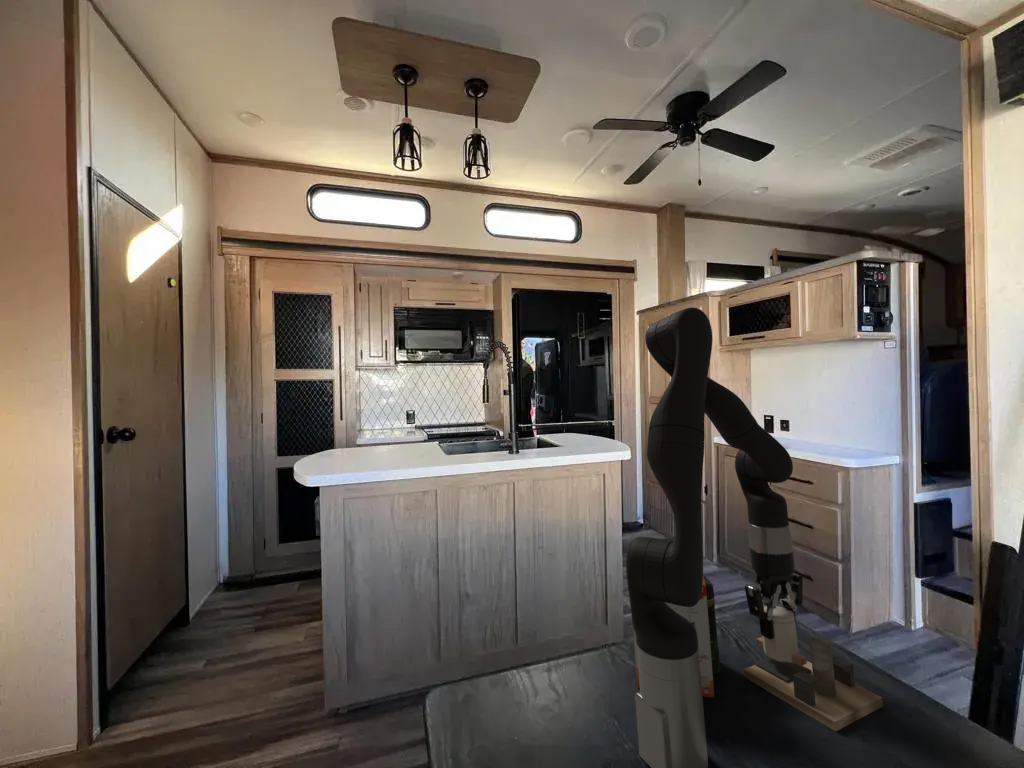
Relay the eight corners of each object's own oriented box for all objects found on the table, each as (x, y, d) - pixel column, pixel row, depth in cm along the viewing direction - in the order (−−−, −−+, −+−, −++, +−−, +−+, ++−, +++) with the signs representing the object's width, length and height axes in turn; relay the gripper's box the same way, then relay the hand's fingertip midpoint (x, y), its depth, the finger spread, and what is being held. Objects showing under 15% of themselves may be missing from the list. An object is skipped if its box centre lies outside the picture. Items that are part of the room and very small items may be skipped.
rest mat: (787, 683, 83) (786, 680, 83) (755, 665, 89) (755, 663, 89) (811, 672, 86) (811, 670, 86) (779, 655, 92) (779, 653, 92)
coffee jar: (726, 678, 88) (718, 582, 89) (685, 679, 89) (677, 583, 90) (709, 652, 98) (701, 565, 99) (672, 652, 98) (665, 566, 99)
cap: (750, 647, 91) (746, 607, 91) (768, 639, 93) (764, 600, 94) (794, 669, 83) (790, 625, 83) (813, 659, 85) (809, 616, 86)
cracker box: (637, 689, 86) (628, 579, 88) (638, 671, 92) (630, 568, 93) (716, 700, 82) (706, 583, 83) (712, 681, 87) (703, 572, 89)
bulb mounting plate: (835, 731, 72) (829, 667, 73) (744, 677, 88) (739, 625, 89) (882, 706, 78) (876, 646, 78) (788, 659, 93) (784, 609, 94)
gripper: (777, 535, 95) (785, 616, 94) (728, 548, 90) (736, 634, 89) (813, 544, 88) (821, 632, 87) (762, 558, 83) (771, 652, 82)
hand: (778, 632), depth 88 cm, fingers closed on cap, 5 cm apart
